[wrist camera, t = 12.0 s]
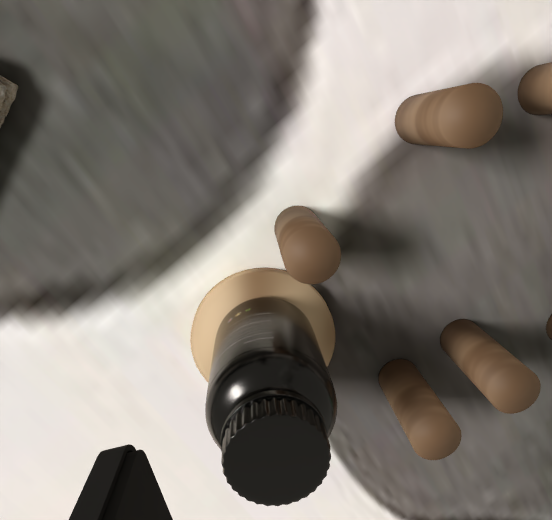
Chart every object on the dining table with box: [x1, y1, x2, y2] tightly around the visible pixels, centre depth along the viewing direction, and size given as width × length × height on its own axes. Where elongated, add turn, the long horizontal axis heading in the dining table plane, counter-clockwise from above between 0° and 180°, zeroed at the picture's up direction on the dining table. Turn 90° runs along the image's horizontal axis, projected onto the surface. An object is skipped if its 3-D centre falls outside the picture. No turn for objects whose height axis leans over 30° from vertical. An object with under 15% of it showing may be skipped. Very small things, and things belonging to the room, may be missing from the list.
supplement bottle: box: [206, 297, 337, 506], centre depth 25 cm, size 7×7×12 cm
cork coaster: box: [191, 268, 335, 383], centre depth 31 cm, size 10×10×1 cm
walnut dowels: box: [275, 62, 552, 460], centre depth 27 cm, size 21×21×7 cm
